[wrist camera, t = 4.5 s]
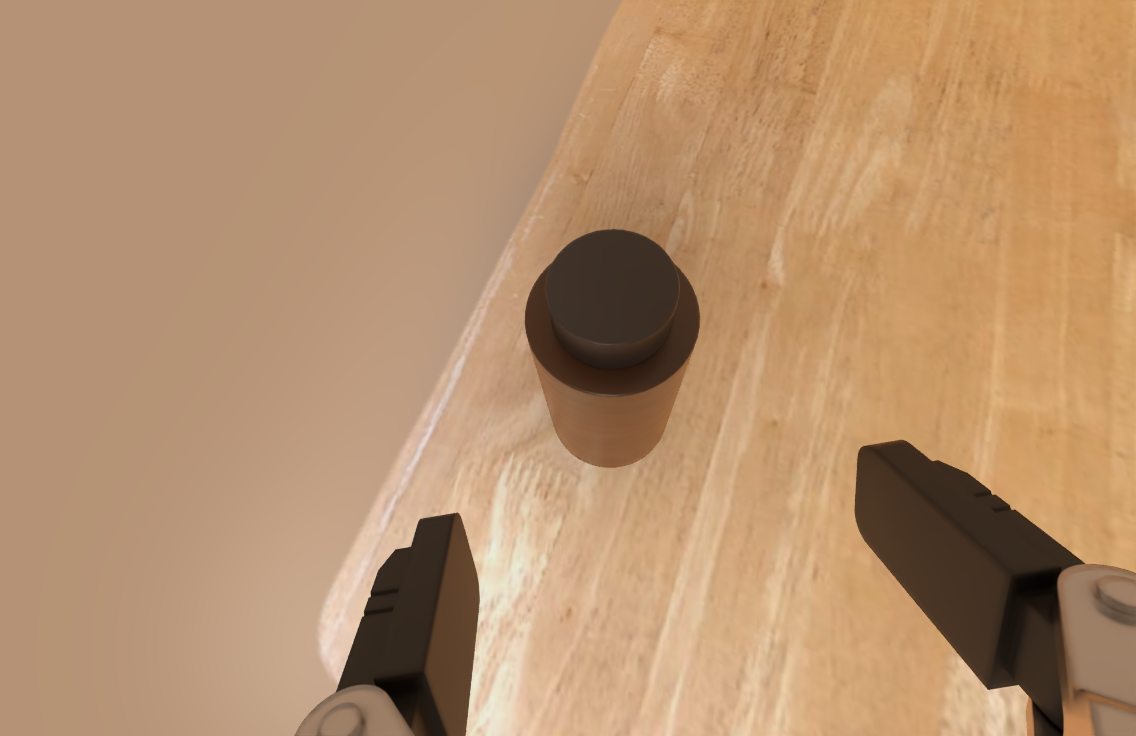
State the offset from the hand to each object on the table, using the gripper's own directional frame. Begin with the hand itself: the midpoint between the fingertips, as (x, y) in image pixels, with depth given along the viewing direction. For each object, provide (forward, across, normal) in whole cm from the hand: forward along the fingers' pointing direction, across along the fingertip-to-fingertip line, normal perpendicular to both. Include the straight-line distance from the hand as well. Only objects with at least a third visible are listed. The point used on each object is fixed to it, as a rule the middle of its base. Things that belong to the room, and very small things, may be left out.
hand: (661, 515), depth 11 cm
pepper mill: (+11, 0, +3) cm, 11 cm away
